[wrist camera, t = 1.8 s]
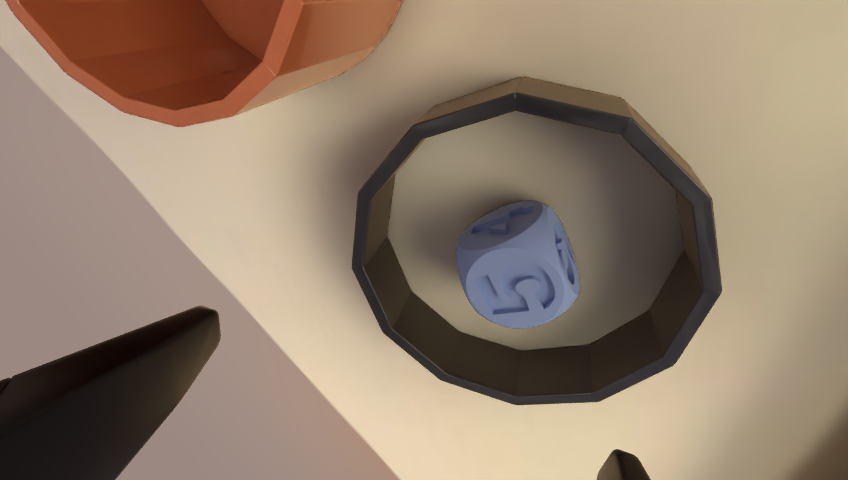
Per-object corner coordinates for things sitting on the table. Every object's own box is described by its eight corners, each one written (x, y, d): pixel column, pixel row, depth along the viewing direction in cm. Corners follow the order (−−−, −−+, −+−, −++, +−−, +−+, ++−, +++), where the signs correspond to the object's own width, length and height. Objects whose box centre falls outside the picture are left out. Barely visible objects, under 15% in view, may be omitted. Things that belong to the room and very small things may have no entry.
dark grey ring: (769, 129, 16) (810, 158, 13) (618, 390, 23) (624, 442, 21) (397, 48, 18) (368, 59, 16) (367, 310, 26) (343, 348, 23)
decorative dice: (465, 219, 21) (446, 262, 18) (547, 189, 19) (543, 231, 16) (500, 286, 22) (488, 338, 19) (580, 264, 21) (582, 318, 17)
